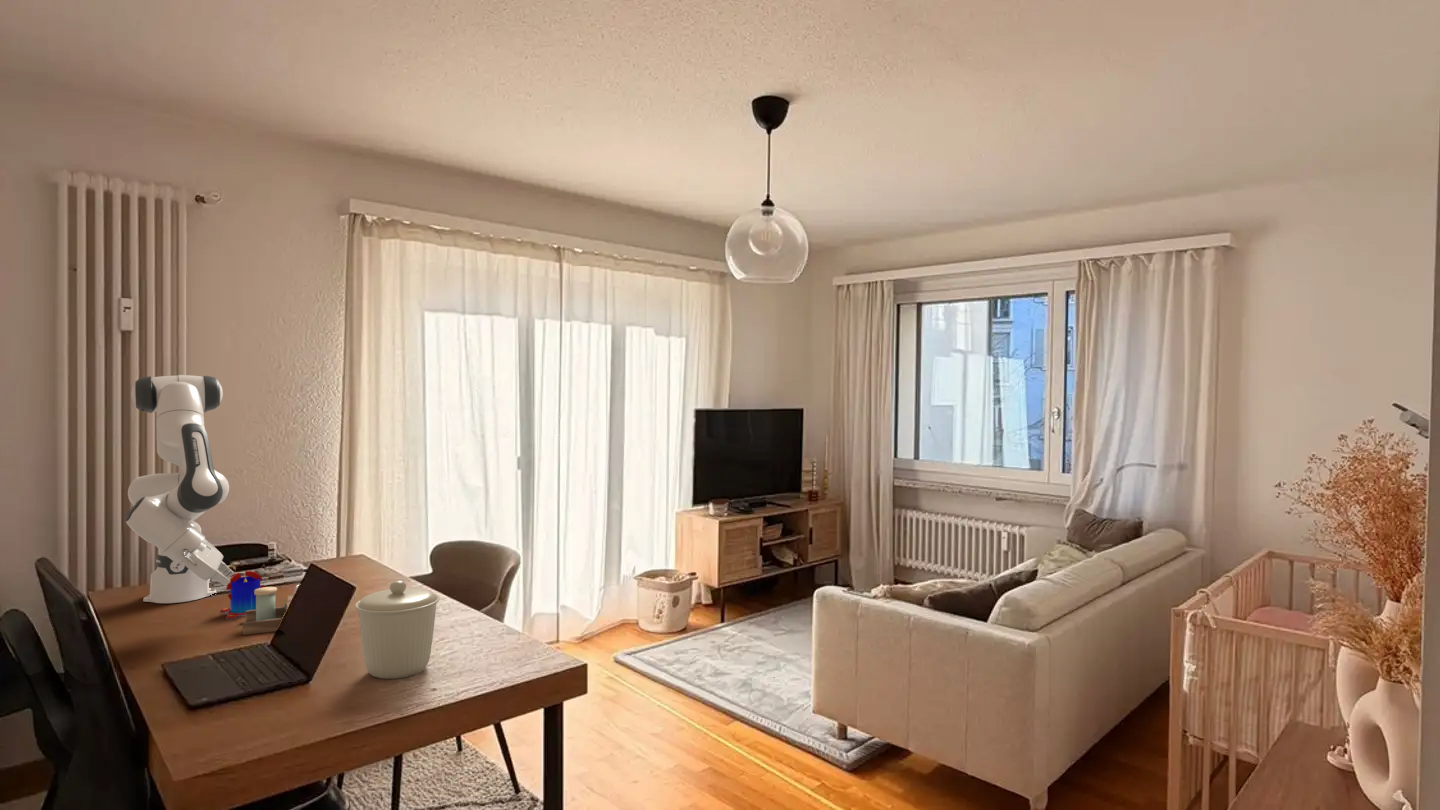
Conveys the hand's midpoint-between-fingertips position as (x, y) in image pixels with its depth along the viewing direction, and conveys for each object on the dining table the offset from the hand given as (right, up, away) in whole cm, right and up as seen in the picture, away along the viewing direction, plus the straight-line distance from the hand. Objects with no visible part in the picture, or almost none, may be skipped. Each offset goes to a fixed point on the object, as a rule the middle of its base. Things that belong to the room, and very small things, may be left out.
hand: (230, 579), depth 211 cm
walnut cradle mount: (+8, -14, +4) cm, 16 cm away
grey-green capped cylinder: (+7, -14, +4) cm, 16 cm away
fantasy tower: (-6, -14, +17) cm, 23 cm away
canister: (+58, -15, -31) cm, 67 cm away
